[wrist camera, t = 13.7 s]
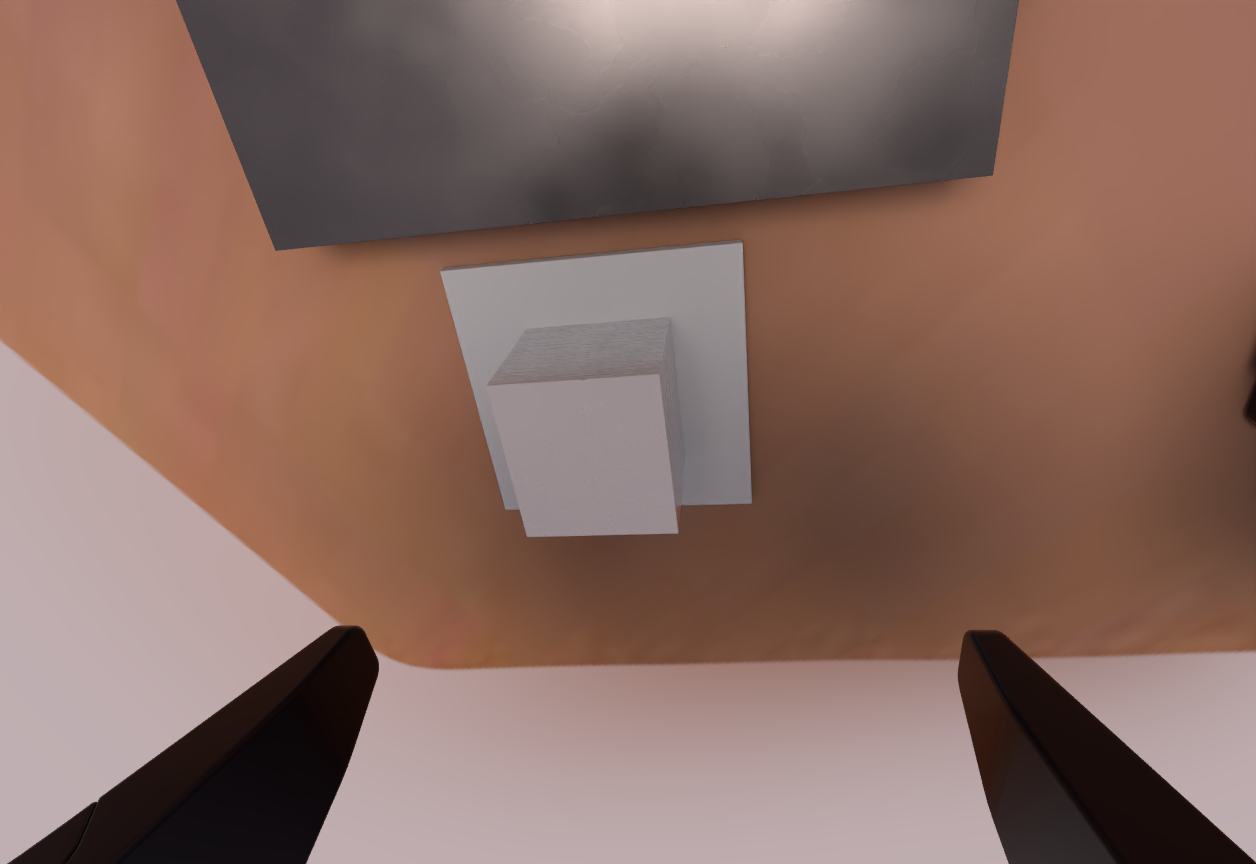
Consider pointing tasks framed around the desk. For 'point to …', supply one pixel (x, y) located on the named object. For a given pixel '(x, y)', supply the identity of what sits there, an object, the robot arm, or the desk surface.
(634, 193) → the dark grey base plate
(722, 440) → the felt mat
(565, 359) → the light grey block
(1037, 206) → the desk surface
